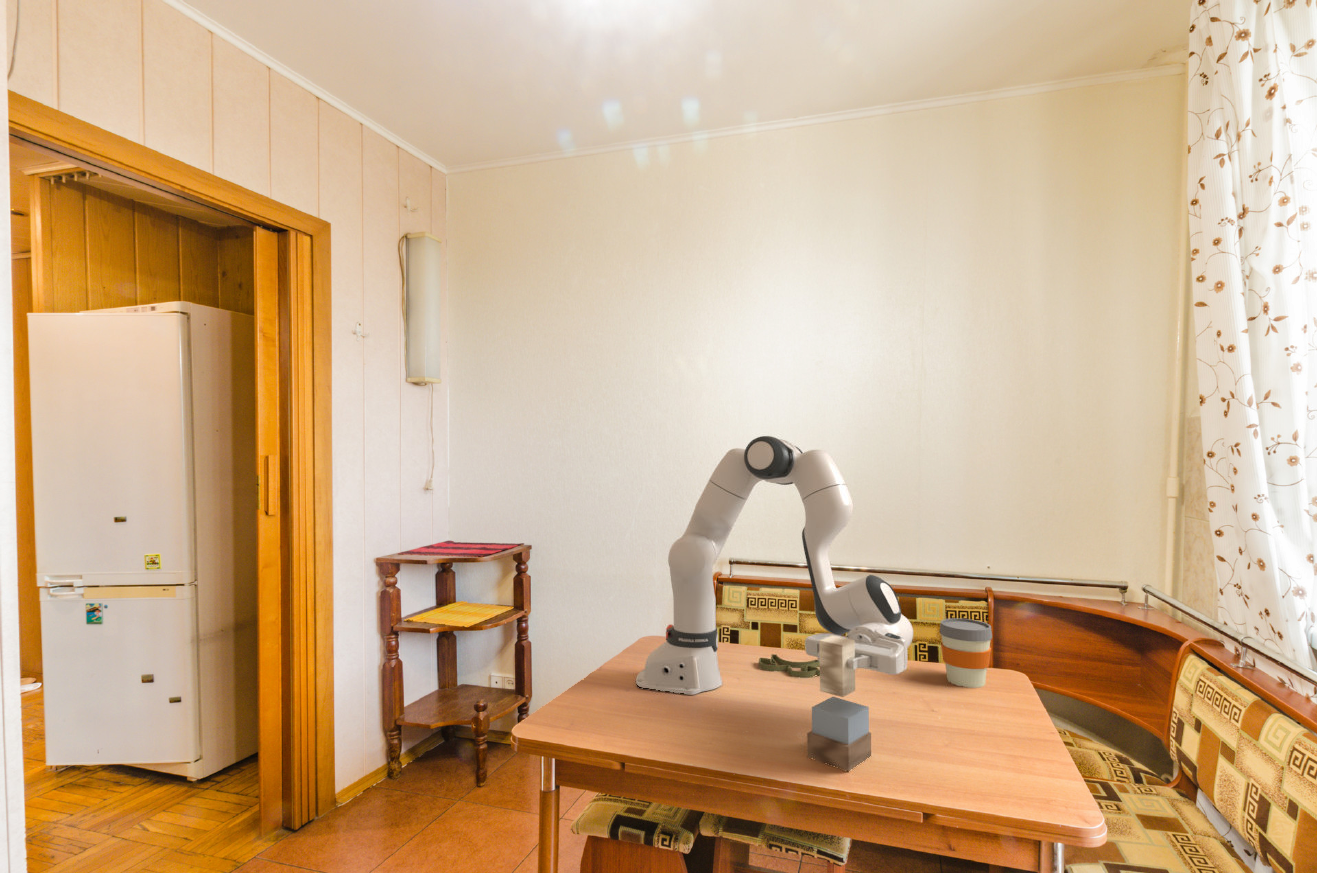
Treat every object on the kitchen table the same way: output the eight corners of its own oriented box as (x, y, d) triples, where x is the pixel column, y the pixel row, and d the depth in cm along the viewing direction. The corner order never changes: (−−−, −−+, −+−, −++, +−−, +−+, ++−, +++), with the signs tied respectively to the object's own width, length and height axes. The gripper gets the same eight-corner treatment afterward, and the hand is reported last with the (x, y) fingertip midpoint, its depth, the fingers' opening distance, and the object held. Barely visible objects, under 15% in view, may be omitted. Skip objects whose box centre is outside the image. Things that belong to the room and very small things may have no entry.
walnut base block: (807, 758, 133) (807, 733, 134) (830, 744, 140) (830, 720, 140) (848, 773, 127) (848, 747, 127) (871, 758, 134) (871, 732, 134)
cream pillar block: (820, 691, 133) (819, 640, 134) (832, 684, 137) (831, 635, 137) (843, 697, 130) (842, 645, 130) (855, 690, 134) (854, 639, 134)
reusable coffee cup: (1002, 683, 175) (1001, 625, 175) (975, 694, 168) (974, 633, 168) (957, 670, 185) (957, 615, 185) (930, 679, 178) (929, 622, 178)
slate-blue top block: (812, 732, 134) (811, 707, 134) (833, 720, 140) (832, 696, 140) (848, 745, 128) (848, 718, 128) (868, 732, 134) (868, 707, 134)
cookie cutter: (827, 668, 188) (827, 661, 188) (818, 681, 178) (818, 674, 178) (765, 659, 196) (765, 653, 196) (752, 672, 185) (752, 665, 185)
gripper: (823, 622, 150) (789, 635, 140) (913, 640, 136) (883, 655, 126) (823, 651, 150) (790, 666, 140) (914, 671, 136) (883, 689, 126)
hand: (835, 661), depth 133 cm, fingers closed on cream pillar block, 5 cm apart
